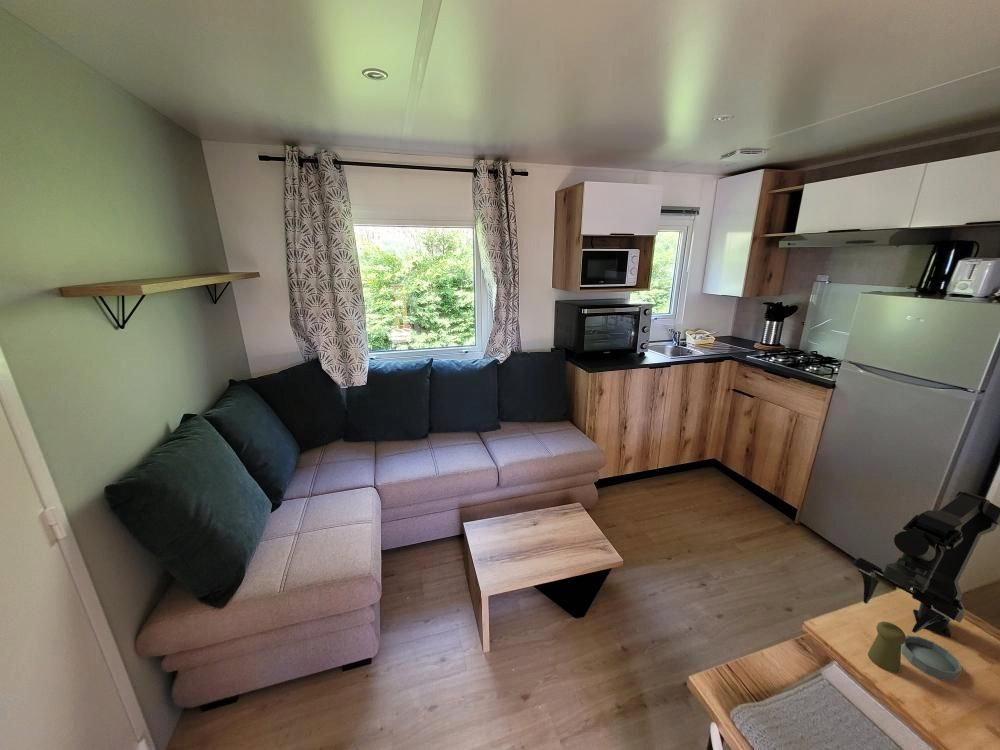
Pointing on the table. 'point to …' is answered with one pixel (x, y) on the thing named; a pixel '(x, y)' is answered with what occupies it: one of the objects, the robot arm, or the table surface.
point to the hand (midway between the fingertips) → (888, 617)
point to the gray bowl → (931, 658)
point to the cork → (887, 647)
